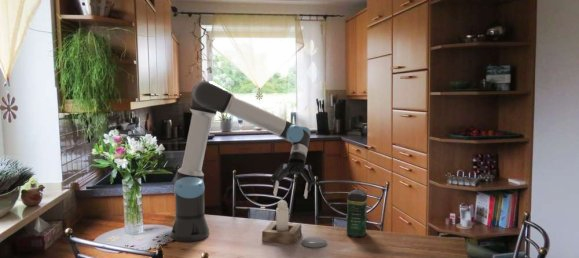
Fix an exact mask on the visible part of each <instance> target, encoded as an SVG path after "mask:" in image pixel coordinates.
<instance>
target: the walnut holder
mask: <svg viewBox="0 0 579 258" xmlns="http://www.w3.org/2000/svg"><path fill="white" fill-rule="evenodd" d="M261 233H262V234H261V241H262V242H266V243H267V242H269V243H276V244H277V243H278V244H287V245H294V244H295V243H296V242H297V240H298V239H299V237H300V236H301V235H302V224H301V223H293V222H292V223H290V222H288V231H278V230H276V221H271V222H270V223H269V224H268V225H267V226H266V227H265V228H264V229H263V230H262V232H261Z"/></svg>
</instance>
